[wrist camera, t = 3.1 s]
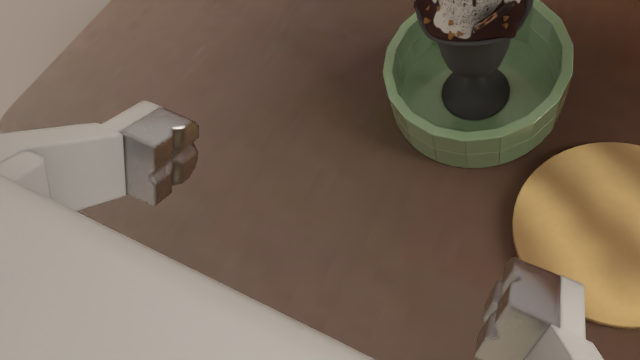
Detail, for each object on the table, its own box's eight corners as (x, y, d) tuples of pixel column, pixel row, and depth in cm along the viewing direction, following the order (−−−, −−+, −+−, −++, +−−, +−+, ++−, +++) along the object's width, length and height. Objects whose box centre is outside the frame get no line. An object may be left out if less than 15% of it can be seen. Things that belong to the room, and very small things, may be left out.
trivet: (576, 117, 36) (578, 111, 35) (767, 210, 30) (774, 206, 30) (475, 249, 34) (475, 246, 34) (657, 373, 29) (661, 372, 28)
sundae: (435, 54, 41) (413, -112, 28) (525, 56, 39) (548, -124, 25) (423, 127, 39) (392, -15, 25) (517, 133, 36) (537, -20, 23)
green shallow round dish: (453, 6, 43) (450, -35, 39) (600, 69, 37) (614, 29, 33) (361, 116, 41) (348, 85, 37) (499, 200, 35) (501, 175, 31)
